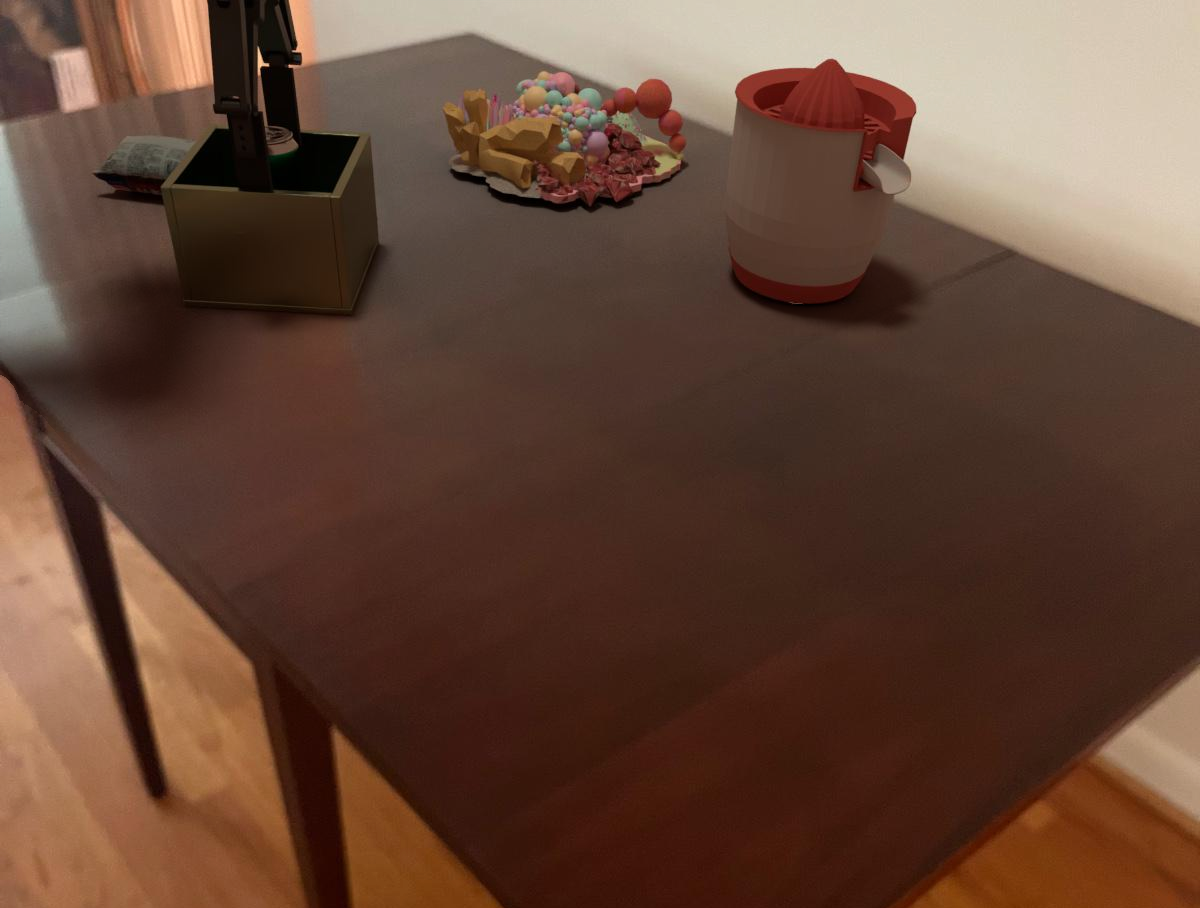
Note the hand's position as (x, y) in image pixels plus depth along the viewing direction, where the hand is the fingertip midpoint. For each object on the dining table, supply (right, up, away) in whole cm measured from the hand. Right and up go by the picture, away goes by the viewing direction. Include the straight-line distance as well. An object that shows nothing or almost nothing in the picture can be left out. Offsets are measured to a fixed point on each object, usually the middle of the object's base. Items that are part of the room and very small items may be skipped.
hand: (271, 167), depth 101 cm
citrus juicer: (+48, -7, +10) cm, 49 cm away
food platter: (+24, +11, +30) cm, 40 cm away
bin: (0, -7, +7) cm, 10 cm away
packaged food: (-16, +5, +20) cm, 26 cm away
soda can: (0, -7, +6) cm, 9 cm away
